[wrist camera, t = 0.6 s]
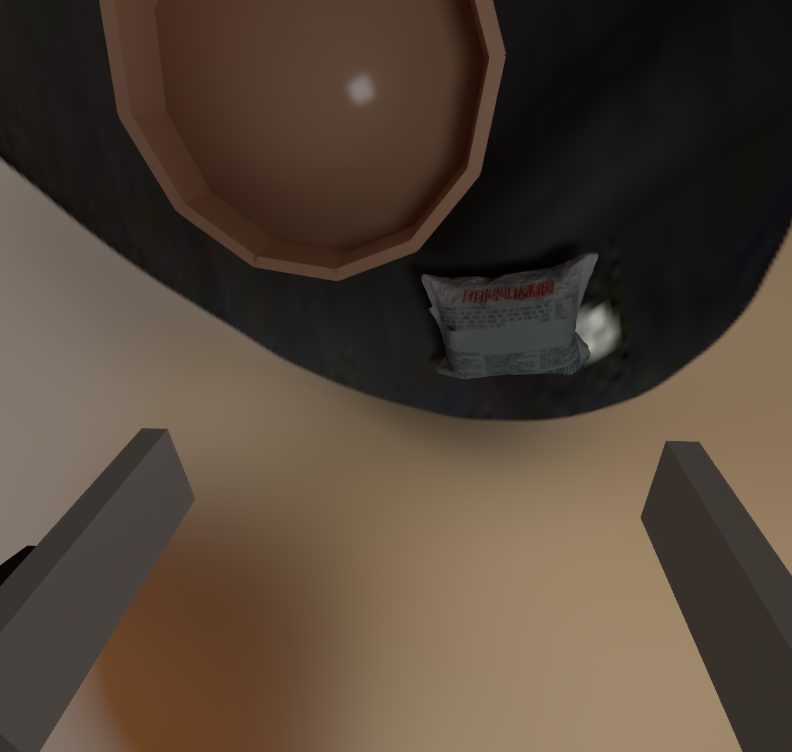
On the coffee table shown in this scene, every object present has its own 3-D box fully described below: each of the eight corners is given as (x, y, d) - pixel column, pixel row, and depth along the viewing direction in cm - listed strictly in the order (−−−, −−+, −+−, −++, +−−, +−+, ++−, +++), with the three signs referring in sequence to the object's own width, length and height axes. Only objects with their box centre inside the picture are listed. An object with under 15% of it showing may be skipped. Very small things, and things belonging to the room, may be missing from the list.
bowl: (84, -27, 28) (18, -48, 24) (417, -263, 22) (408, -347, 18) (264, 291, 38) (240, 317, 34) (530, 189, 32) (542, 204, 27)
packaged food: (425, 262, 35) (419, 289, 31) (592, 243, 32) (609, 269, 28) (439, 360, 40) (435, 394, 36) (586, 349, 37) (600, 385, 33)
